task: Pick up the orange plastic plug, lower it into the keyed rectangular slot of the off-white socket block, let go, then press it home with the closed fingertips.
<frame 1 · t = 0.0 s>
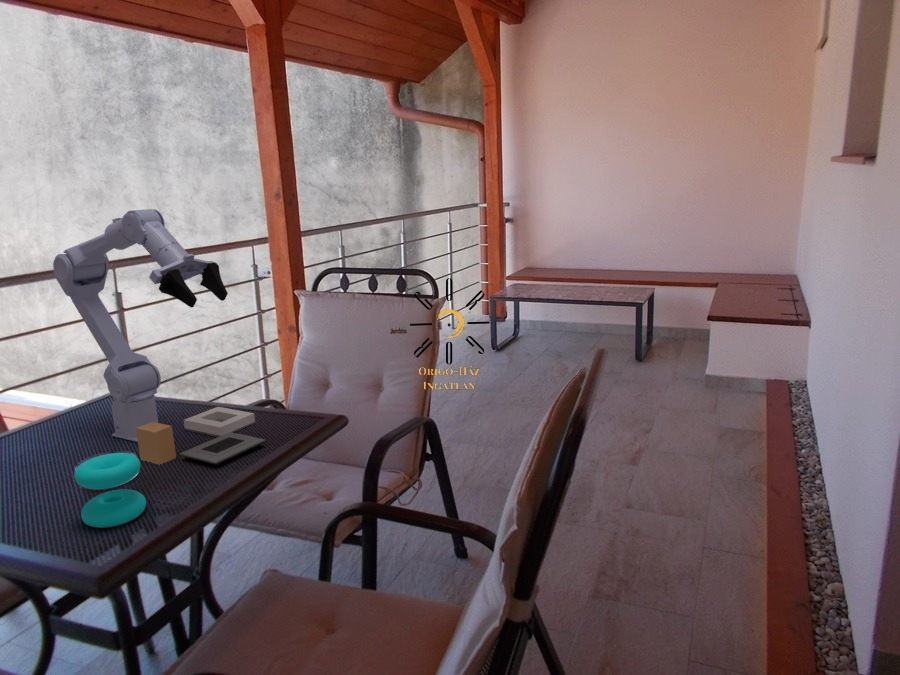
hand: (209, 300, 135), 32 cm above the table, tool tilted 50°, fingers open, 7 cm apart
socket block: (220, 426, 159), on the table
donuts: (115, 517, 118), on the table
electrical outlet: (224, 456, 143), on the table
plug: (158, 459, 142), on the table
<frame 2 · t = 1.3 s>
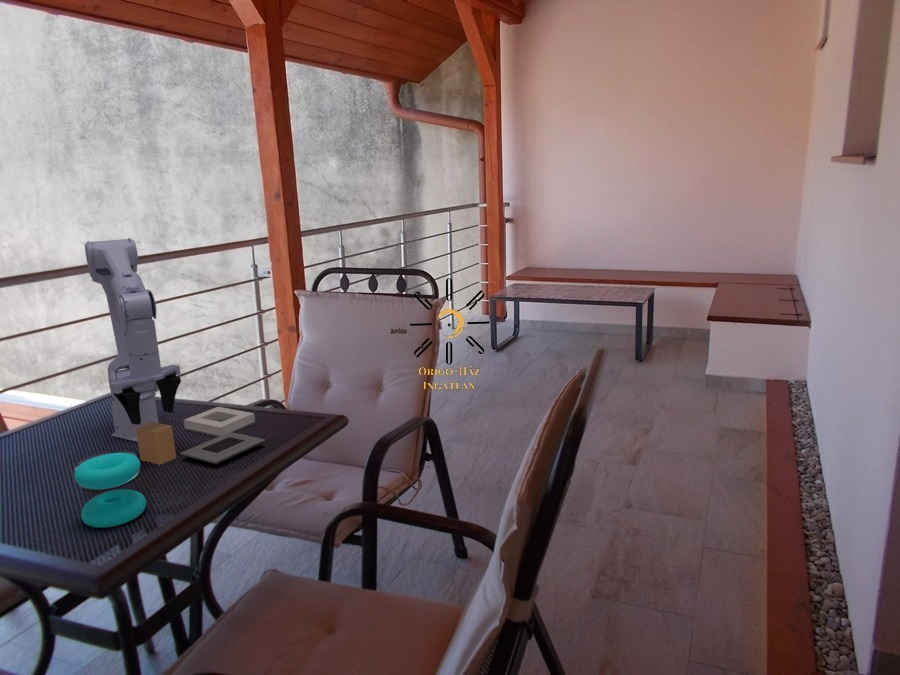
hand: (152, 417, 140), 9 cm above the table, tool pointing down, fingers open, 7 cm apart
nothing on the table moved.
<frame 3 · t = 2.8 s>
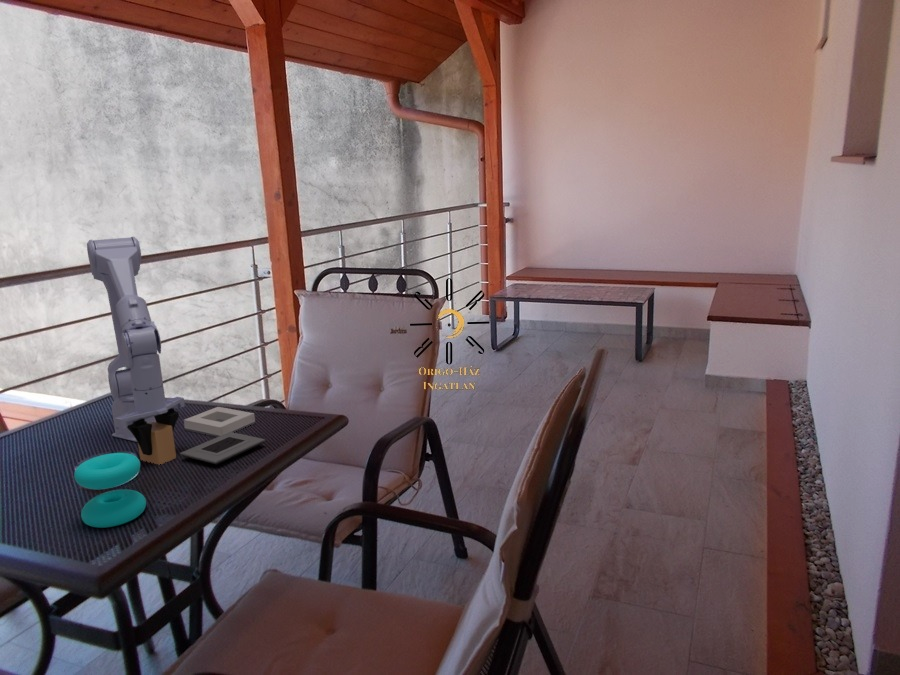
hand: (157, 450, 141), 2 cm above the table, tool pointing down, fingers closed on plug, 4 cm apart
plug: (158, 459, 142), on the table, touching gripper
everything else where it was.
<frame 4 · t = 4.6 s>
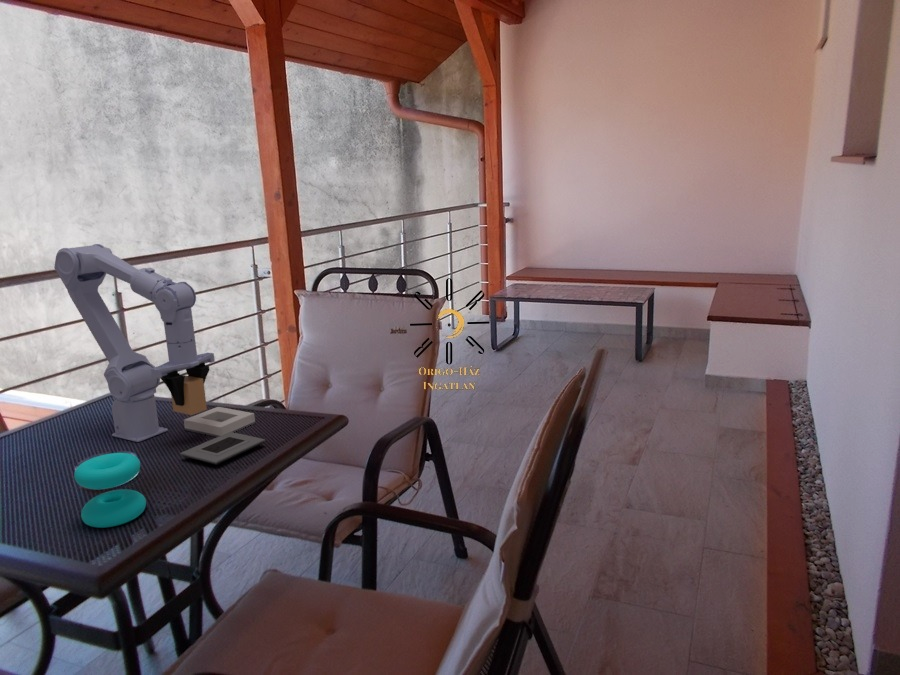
hand: (188, 401, 149), 9 cm above the table, tool pointing down, fingers closed on plug, 4 cm apart
plug: (190, 410, 150), point 7 cm above the table, touching gripper
everything else where it was.
when the fingers open (3 cm above the table, at t = 6.6 s): plug stays where it is, resting on socket block.
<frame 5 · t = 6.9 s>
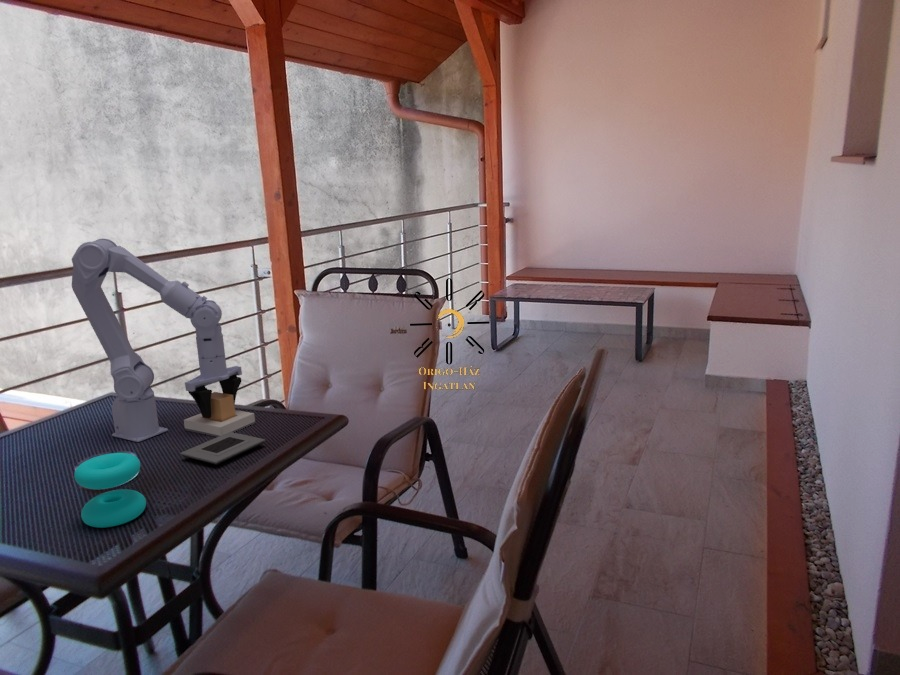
hand: (218, 412, 158), 3 cm above the table, tool pointing down, fingers open, 6 cm apart
plug: (220, 424, 159), resting on socket block
everything else where it was.
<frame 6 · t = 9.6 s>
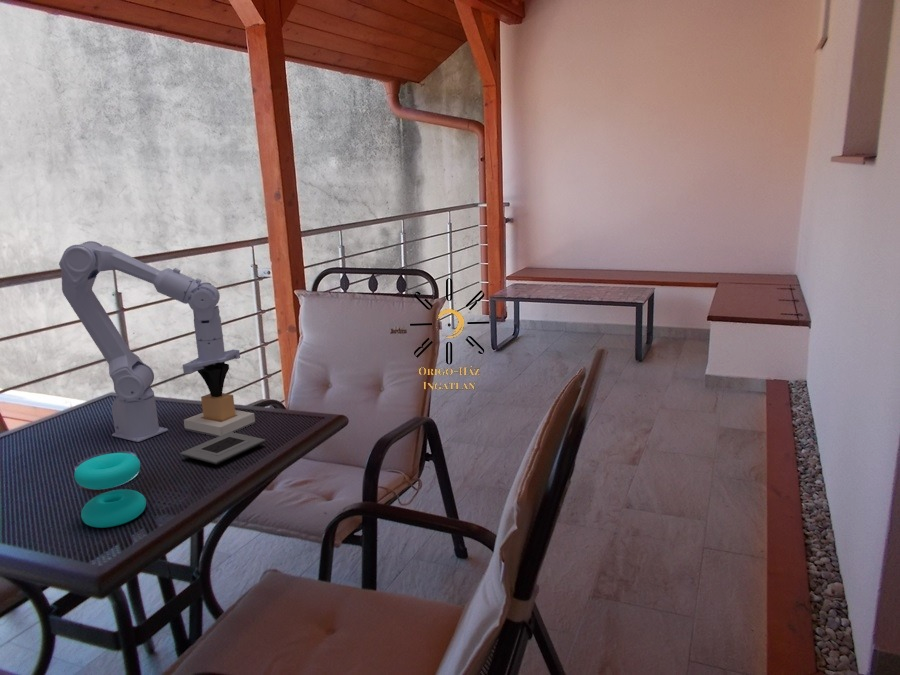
hand: (216, 396, 157), 7 cm above the table, tool pointing down, fingers closed, pressing on plug
plug: (220, 424, 159), resting on socket block, touching gripper
everything else where it was.
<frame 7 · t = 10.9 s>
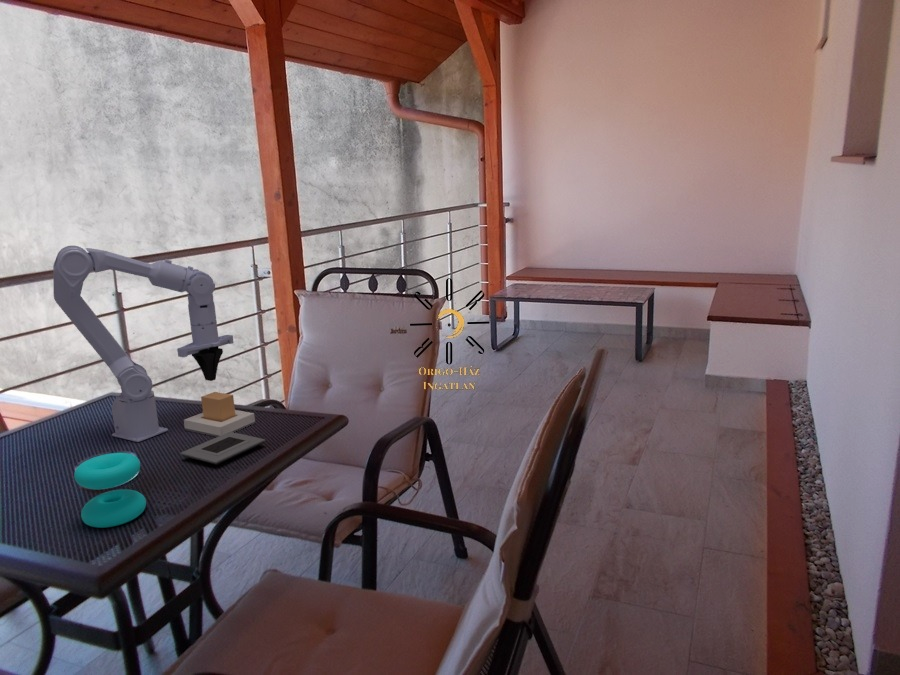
hand: (210, 379, 162), 10 cm above the table, tool pointing down, fingers closed
plug: (220, 424, 159), resting on socket block
everything else where it was.
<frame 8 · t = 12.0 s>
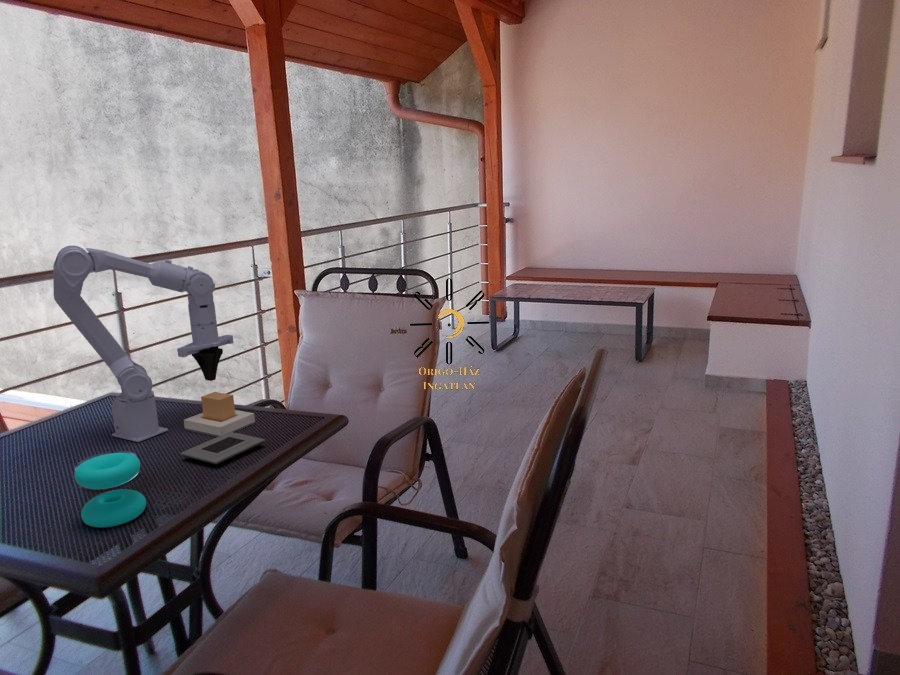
hand: (210, 379, 162), 10 cm above the table, tool pointing down, fingers closed
nothing on the table moved.
at the end: plug 0.1 cm off-centre on the socket block, point 0.5 cm above the socket block's base; plug tilted 0°; the gripper is holding nothing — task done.
